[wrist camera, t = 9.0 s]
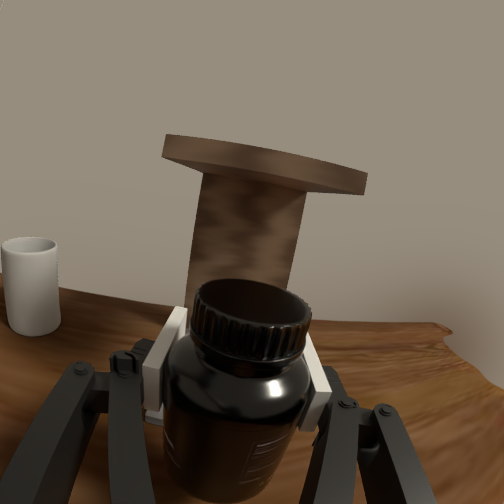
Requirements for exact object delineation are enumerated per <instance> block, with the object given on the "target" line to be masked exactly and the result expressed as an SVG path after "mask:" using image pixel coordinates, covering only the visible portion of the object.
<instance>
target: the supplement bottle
mask: <svg viewBox="0 0 504 504" xmlns="http://www.w3.org/2000/svg"><path fill="white" fill-rule="evenodd" d="M311 318H312V312H311V308H310V307H309V306H308V304H307V303H306V302H304V300H303V299H301V298H299V297H298V296H297V295H295V294H293V293H291V292H290V291H287V290H285V289H283V288H280V287H276V286H274V285H270V284H267V283H263V282H258V281H254V280H247V279H237V278H233V279H230V278H225V279H216V280H210V281H208V282H205V283H204V284H201V285H200V286H199V288H197V290H196V294H195V298H194V305H193V313H192V316H191V319H190V325H189V333H188V334H186V335H185V336H183V337H182V338H181V339H179V340H178V341H177V342H176V343H175V344H174V346H173V347H172V348H171V350H170V351H169V353H168V355H167V358H166V361H165V366H164V380H163V452H164V462H165V467H166V470H167V472H168V474H169V476H170V477H171V479H172V480H173V482H174V483H175V484H176V485H177V486H178V487H179V488H180V489H181V490H183V491H184V492H186V493H187V494H189V495H190V496H192V497H194V498H197V499H199V500H202V501H205V502H209V503H215V504H233V503H238V502H242V501H245V500H248V499H250V498H252V497H254V496H256V495H257V494H259V493H260V492H261V491H262V490H263V489H264V488H265V487H266V486H267V484H268V483H269V481H270V480H271V478H272V476H273V475H274V473H275V471H276V469H277V467H278V465H279V463H280V461H281V459H282V457H283V455H284V453H285V451H286V449H287V447H288V445H289V443H290V441H291V439H292V436H293V434H294V432H295V430H296V428H297V426H298V423H299V421H300V419H301V417H302V414H303V412H304V410H305V407H306V405H307V402H308V399H309V396H310V393H311V377H310V373H309V370H308V367H307V365H306V363H305V361H304V360H303V358H302V357H301V356H302V354H303V351H304V348H305V345H306V335H307V332H308V329H309V325H310V322H311Z"/></svg>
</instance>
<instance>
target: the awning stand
mask: <svg viewBox="0 0 504 504" xmlns="http://www.w3.org/2000/svg"><path fill="white" fill-rule="evenodd" d="M162 157H163V158H166V159H168V160H171V161H174V162H176V163H179V164H182V165H185V166H187V167H189V168H192V169H195V170H197V171H200V172H202V173H203V178H202V184H201V190H200V195H199V202H198V208H197V214H196V220H195V227H194V233H193V240H192V247H191V254H190V262H189V270H188V278H187V287H186V296H185V304H184V308H188V309H187V318H186V328H185V335H186V334H188V333H189V325H190V319H191V316H192V313H193V305H194V298H195V294H196V290H197V288H199V286H200V285H201V284H204V283H205V282H208V281H210V280H216V279H225V278H230V279H233V278H237V279H247V280H254V281H258V282H263V283H267V284H270V285H274V286H276V287H280V288H283V289H285V290H286V288H287V284H288V280H289V275H290V271H291V266H292V262H293V257H294V252H295V248H296V243H297V238H298V234H299V229H300V224H301V219H302V214H303V209H304V204H305V199H306V194H307V192H319V193H337V194H338V193H339V194H352V195H364V191H365V186H366V181H367V174H368V173H366V172H362V171H359V170H355V169H352V168H348V167H344V166H341V165H337V164H333V163H329V162H325V161H321V160H317V159H313V158H309V157H304V156H300V155H296V154H291V153H286V152H282V151H277V150H272V149H266V148H261V147H256V146H250V145H244V144H238V143H233V142H226V141H219V140H212V139H205V138H197V137H189V136H180V135H170V134H166V138H165V143H164V147H163V153H162ZM145 422H147V423H151V424H155V425H159V426H163V403H162V406H161V409H160V411H159V412H155V411H151V410H147V411H146V414H145Z"/></svg>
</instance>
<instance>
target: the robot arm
mask: <svg viewBox="0 0 504 504" xmlns="http://www.w3.org/2000/svg"><path fill="white" fill-rule="evenodd" d="M4 1H5V0H0V11H1V8H2V6H3V3H4ZM187 309H188V308H183V307H178V306H175V308H174V310H173V312H172V313H171V315H170V317H169V319H168V320H167V322H166V324H165V325H164V327H163V329H162V331H161V332H160V334H159V336H158V338H157V340H156V341H153V340H149V339H144V338H143V339H141V340H139V341H138V342H136V344H135V345H134V347H133V348H132V350H131V352H130V351H125V350H124V351H116V352H114V353H112V354H111V355H110V358H109V359H110V370H111V372H95V371H94V368H93V366H92V365H91V364H89V363H87V362H83V361H78V362H74V363H71V364H70V365H69V366H68V367H67V369H66V370H65V372H64V373H63V375H62V376H61V378H60V379H59V381H58V382H57V384H56V385H55V387H54V388H53V390H52V391H51V393H50V394H49V396H48V397H47V399H46V401H45V402H44V404H43V405H42V407H41V409H40V410H39V412H38V413H37V415H36V417H35V418H34V420H33V422H32V423H31V425H30V427H29V428H28V430H27V432H26V434H25V435H24V437H23V439H22V441H21V442H20V444H19V446H18V448H17V450H16V451H15V453H14V455H13V457H12V459H11V461H10V463H9V465H8V467H7V468H6V470H5V472H4V474H3V476H2V479H1V481H0V504H68V501H69V498H70V495H71V491H72V488H73V485H74V482H75V479H76V476H77V473H78V470H79V468H80V465H81V462H82V459H83V456H84V454H85V451H86V448H87V446H88V443H89V440H90V438H91V435H92V433H93V430H94V428H95V425H96V423H97V420H98V418H99V415H100V413H108V463H109V482H110V494H111V504H156V502H155V498H154V493H153V488H152V482H151V477H150V471H149V465H148V459H147V452H146V444H145V437H144V428H143V419H142V408H141V406H142V404H143V402H144V409H147V410H151V411H155V412H159V411H160V409H161V406H162V403H163V380H164V366H165V361H166V358H167V355H168V353H169V351H170V350H171V348H172V347H173V346H174V344H175V343H176V342H177V341H178V340H179V339H181V338H182V337H183V336H185V328H186V318H187ZM301 357H302V358H303V360H304V361H305V363H306V365H307V367H308V370H309V373H310V377H311V393H310V396H309V399H308V402H307V405H306V407H305V410H304V412H303V414H302V417H301V419H300V421H299V423H298V428H299V431H303V432H314V430H315V428H316V426H317V424H318V427H319V432H318V434H317V436H316V438H315V440H314V442H313V444H312V446H314V449H313V453H312V457H311V461H310V465H309V469H308V473H307V476H306V480H305V484H304V487H303V491H302V494H301V498H300V501H299V504H352V503H353V495H354V486H355V476H356V465H357V461H358V465H359V470H360V474H361V478H362V482H363V487H364V491H365V496H366V501H367V504H437V501H436V499H435V496H434V494H433V491H432V489H431V486H430V484H429V481H428V479H427V477H426V474H425V472H424V470H423V467H422V465H421V463H420V460H419V458H418V456H417V453H416V451H415V449H414V447H413V444H412V442H411V440H410V438H409V436H408V433H407V431H406V429H405V427H404V425H403V423H402V421H401V418H400V416H399V414H398V412H397V411H396V409H395V408H394V407H392V406H390V405H388V404H383V403H382V404H378V405H376V406H375V408H374V409H373V410H370V409H365V408H361V407H359V405H358V403H357V401H356V400H354V399H353V398H351V397H348V396H347V394H346V392H345V390H344V387H343V385H342V383H341V381H340V379H339V377H338V374H337V372H336V371H335V370H334V369H333V368H332V367H331V366H321V363H320V361H319V358H318V356H317V353H316V351H315V348H314V346H313V344H312V341H311V339H310V336H309V334H308V332H307V335H306V345H305V348H304V351H303V354H302V356H301Z"/></svg>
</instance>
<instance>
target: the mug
mask: <svg viewBox="0 0 504 504" xmlns="http://www.w3.org/2000/svg"><path fill="white" fill-rule="evenodd" d="M1 260H2V261H1V262H2V275H3V286H4V294H5V302H6V310H7V317H8V322H9V325H10V327H11V328H12V330H13V331H15V332H16V333H18V334H20V335H24V336H31V337H35V336H43V335H46V334H49V333H51V332H53V331H54V330H56V329H57V328H58V327H59V325H60V322H61V314H60V305H59V291H58V248H57V244H56V242H54V241H52V240H49V239H46V238H39V237H21V238H14V239H10V240H7V241H6V242H4V243H3V244H2V245H1Z"/></svg>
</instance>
